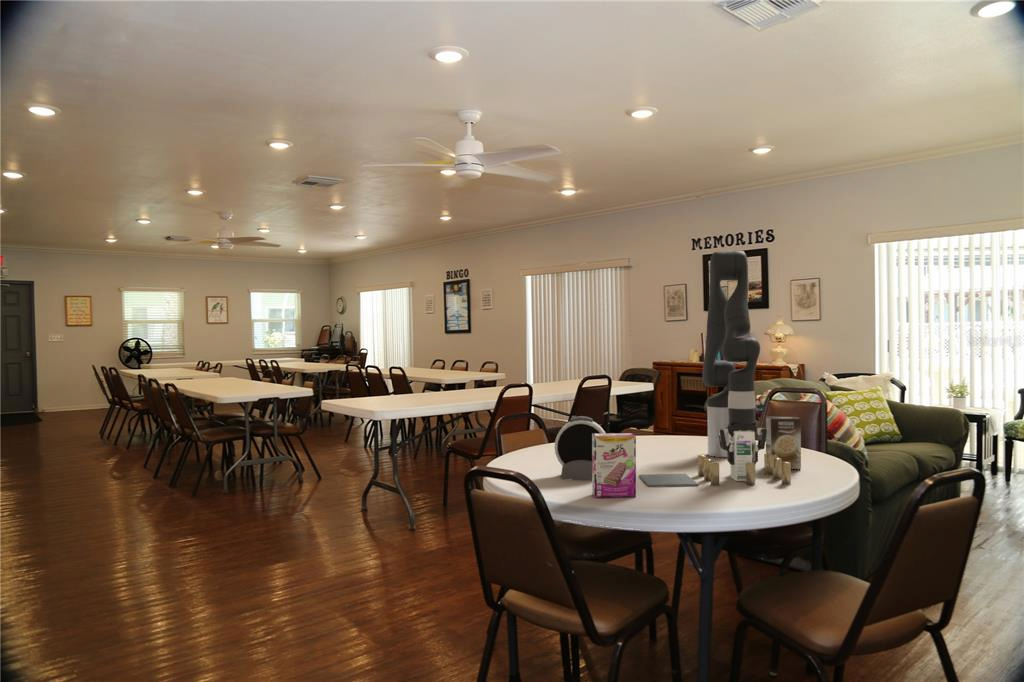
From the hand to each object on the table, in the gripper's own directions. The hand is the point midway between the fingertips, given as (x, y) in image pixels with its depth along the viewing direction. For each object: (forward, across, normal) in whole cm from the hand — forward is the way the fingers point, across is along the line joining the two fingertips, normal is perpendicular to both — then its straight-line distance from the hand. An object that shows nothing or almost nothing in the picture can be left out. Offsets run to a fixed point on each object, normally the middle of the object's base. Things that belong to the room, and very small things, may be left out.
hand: (742, 463), depth 196 cm
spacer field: (+5, 0, 0) cm, 5 cm away
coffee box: (+5, -18, -16) cm, 24 cm away
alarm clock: (+5, +46, -8) cm, 47 cm away
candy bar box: (+5, +40, +18) cm, 44 cm away
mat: (+5, +22, 0) cm, 22 cm away
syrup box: (+5, 0, 0) cm, 5 cm away
